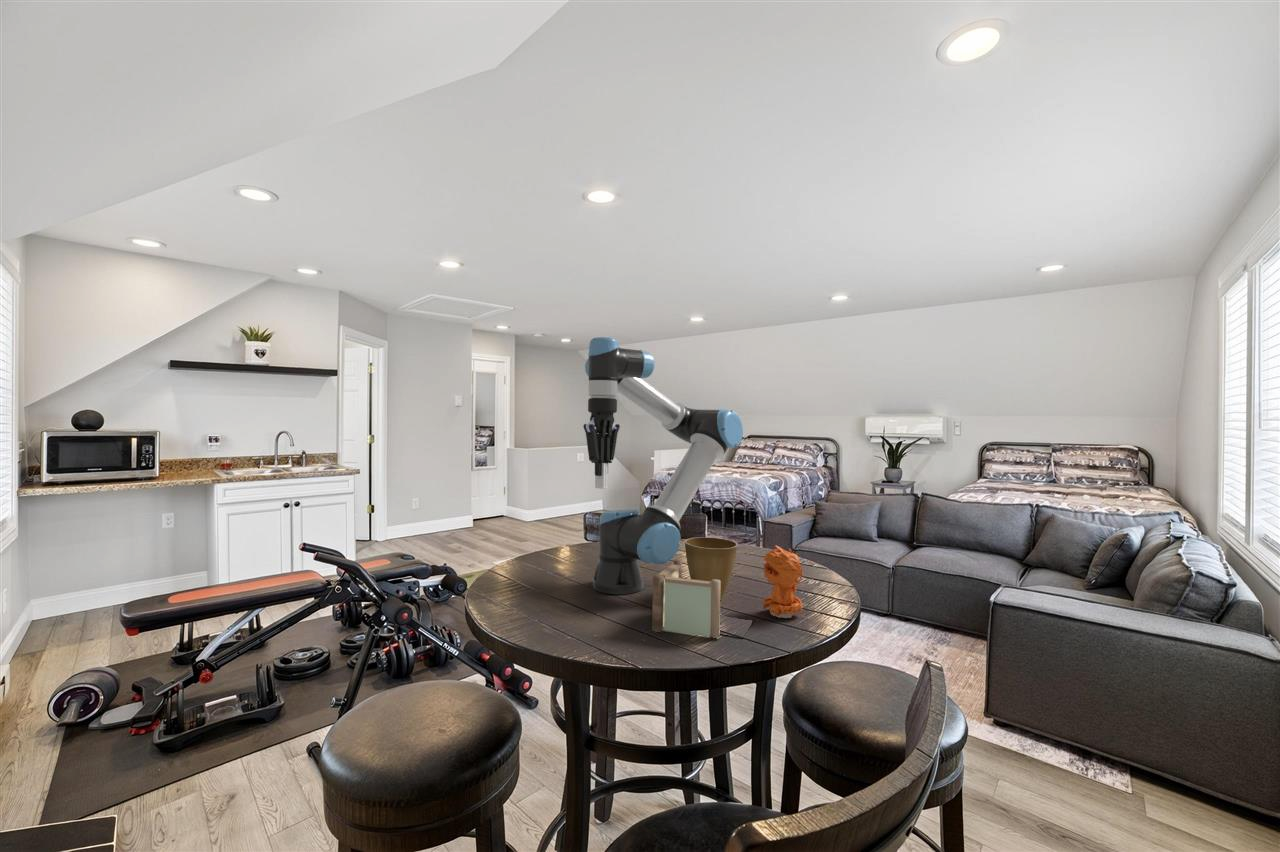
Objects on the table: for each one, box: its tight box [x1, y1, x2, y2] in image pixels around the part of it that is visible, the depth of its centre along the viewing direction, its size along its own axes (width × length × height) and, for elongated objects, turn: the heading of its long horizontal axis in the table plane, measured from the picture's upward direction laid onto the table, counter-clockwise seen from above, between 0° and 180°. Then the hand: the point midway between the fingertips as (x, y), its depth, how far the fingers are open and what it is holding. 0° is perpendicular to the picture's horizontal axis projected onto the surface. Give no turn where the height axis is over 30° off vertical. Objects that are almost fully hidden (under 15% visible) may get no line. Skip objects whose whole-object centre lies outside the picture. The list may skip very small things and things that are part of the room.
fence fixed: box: [651, 559, 683, 633], centre depth 136 cm, size 16×3×14 cm, turn 156°
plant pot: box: [684, 536, 738, 600], centre depth 154 cm, size 15×15×16 cm
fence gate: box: [663, 577, 721, 638], centre depth 127 cm, size 13×2×13 cm, turn 72°
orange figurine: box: [762, 545, 804, 616], centre depth 142 cm, size 11×11×18 cm
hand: (601, 488), depth 141 cm, fingers closed
